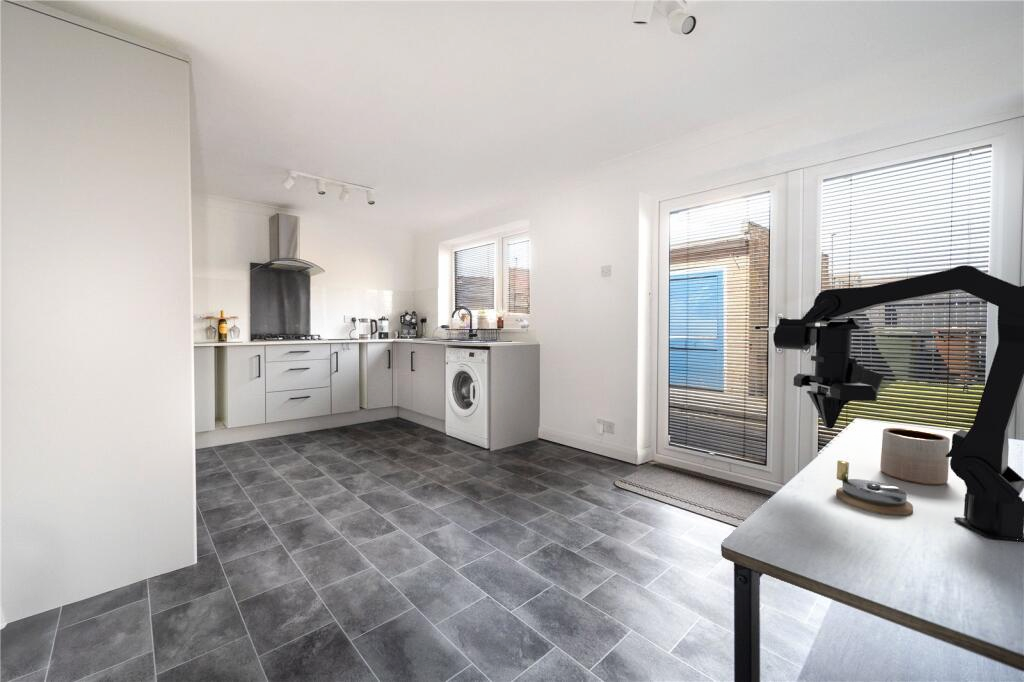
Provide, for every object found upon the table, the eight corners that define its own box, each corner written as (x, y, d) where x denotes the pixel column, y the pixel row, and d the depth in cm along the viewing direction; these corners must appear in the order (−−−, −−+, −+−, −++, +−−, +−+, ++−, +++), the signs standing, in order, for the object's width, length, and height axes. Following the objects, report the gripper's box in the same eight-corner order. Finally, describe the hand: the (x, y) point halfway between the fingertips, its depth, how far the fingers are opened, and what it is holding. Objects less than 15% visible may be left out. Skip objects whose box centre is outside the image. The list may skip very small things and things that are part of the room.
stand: (929, 518, 74) (930, 507, 74) (858, 512, 76) (859, 502, 76) (884, 492, 86) (885, 483, 85) (823, 488, 87) (824, 479, 87)
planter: (918, 469, 100) (921, 428, 99) (962, 487, 89) (965, 441, 88) (868, 467, 101) (870, 426, 100) (905, 485, 90) (908, 439, 89)
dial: (920, 508, 75) (921, 480, 75) (861, 503, 77) (863, 476, 77) (883, 487, 85) (884, 463, 84) (831, 484, 86) (832, 460, 86)
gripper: (912, 356, 77) (907, 443, 78) (848, 349, 95) (845, 419, 96) (843, 355, 79) (839, 439, 79) (793, 348, 97) (790, 417, 98)
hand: (829, 427), depth 88 cm, fingers closed
